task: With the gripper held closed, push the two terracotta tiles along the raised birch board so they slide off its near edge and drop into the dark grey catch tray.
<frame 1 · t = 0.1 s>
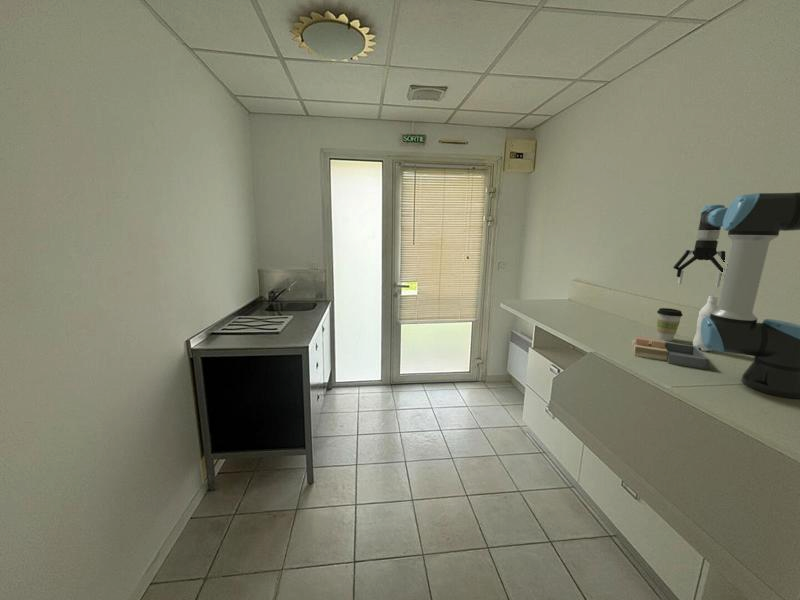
hand: (697, 285, 155), 28 cm above the worktop, fingers open, 13 cm apart
tile b: (656, 346, 142), point 4 cm above the worktop, touching board
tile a: (641, 343, 144), point 4 cm above the worktop, touching board
board: (648, 353, 144), on the worktop
coffee cup: (664, 339, 164), on the worktop
water bottle: (701, 350, 150), on the worktop
catch tray: (681, 358, 138), on the worktop
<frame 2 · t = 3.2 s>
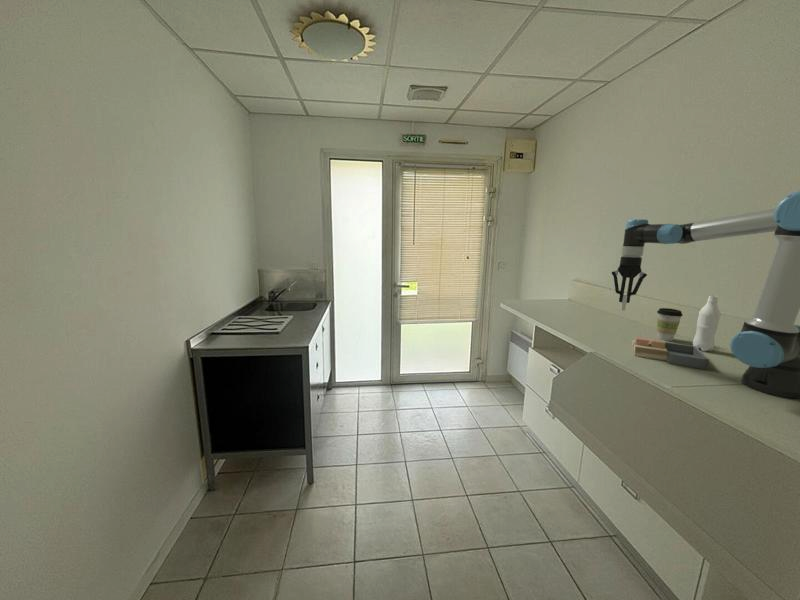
hand: (622, 309, 146), 18 cm above the worktop, fingers closed
nothing on the worktop moved.
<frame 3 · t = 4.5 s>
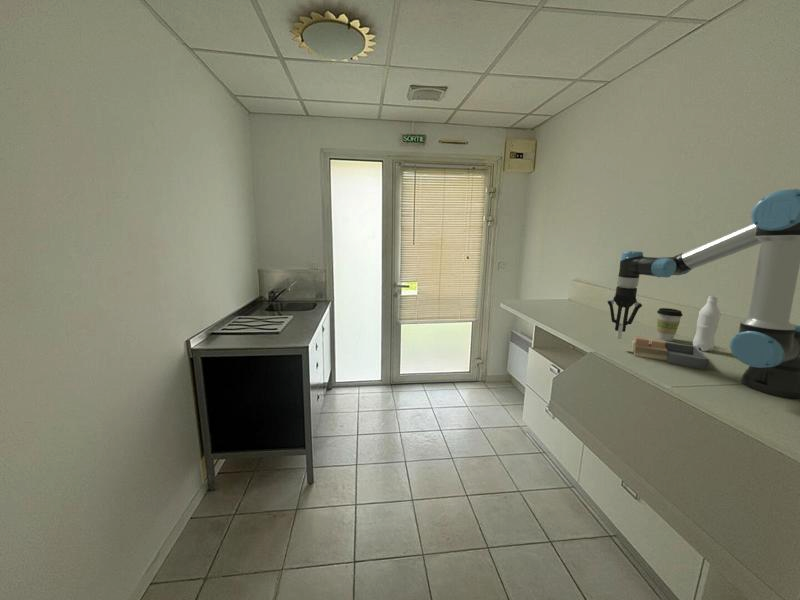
hand: (618, 337, 148), 5 cm above the worktop, fingers closed
nothing on the worktop moved.
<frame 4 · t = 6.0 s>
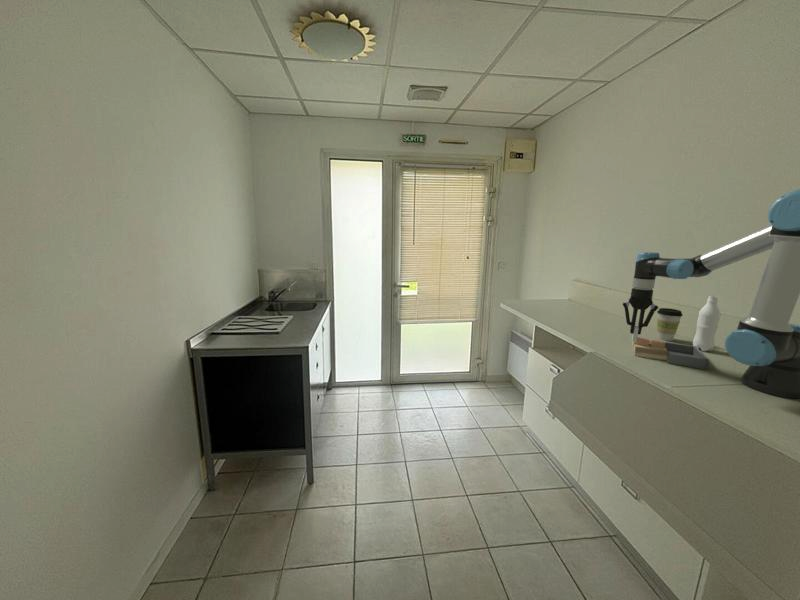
hand: (634, 340, 145), 5 cm above the worktop, fingers closed
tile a: (641, 343, 144), point 4 cm above the worktop, touching board, gripper
everything else where it was.
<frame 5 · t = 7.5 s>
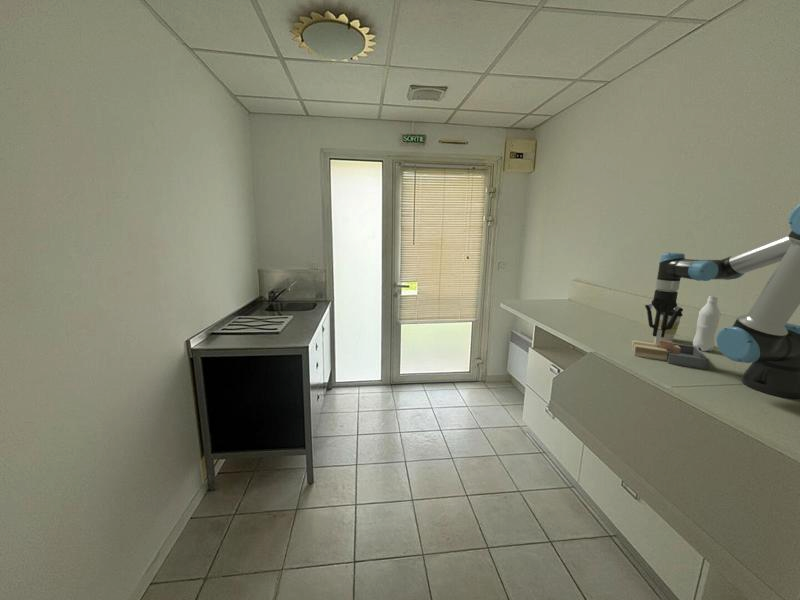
hand: (656, 343, 141), 5 cm above the worktop, fingers closed
tile b: (670, 350, 140), point 3 cm above the worktop, tilted 93°, touching catch tray
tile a: (664, 347, 140), point 4 cm above the worktop, touching gripper
everything else where it was.
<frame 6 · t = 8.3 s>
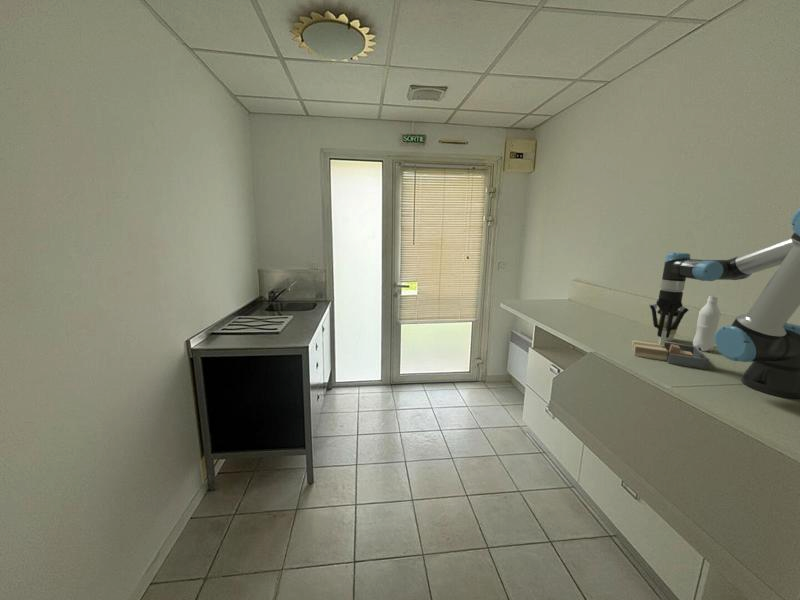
hand: (661, 344, 141), 5 cm above the worktop, fingers closed
tile b: (684, 352, 137), point 3 cm above the worktop, tilted 180°, touching catch tray
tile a: (670, 350, 140), point 3 cm above the worktop, tilted 96°, touching catch tray
everything else where it was.
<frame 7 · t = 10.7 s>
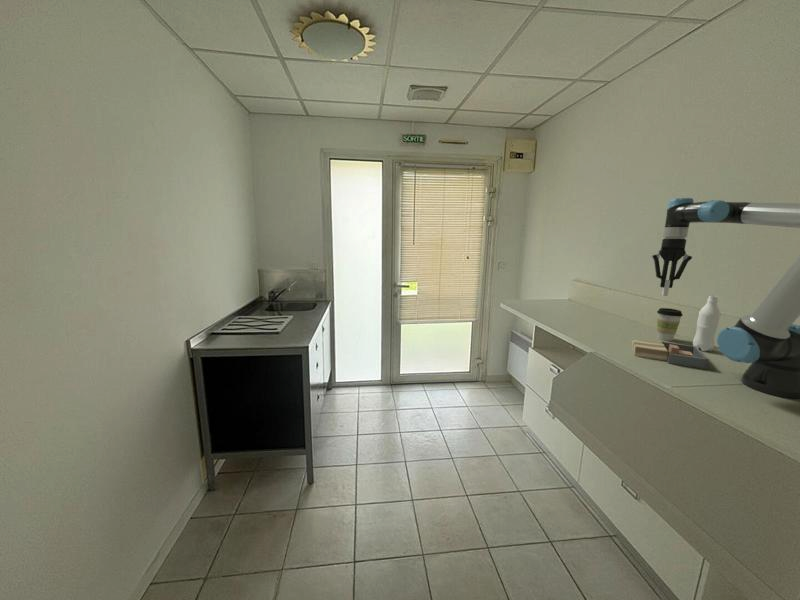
hand: (664, 295, 137), 26 cm above the worktop, fingers closed
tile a: (669, 350, 140), point 3 cm above the worktop, tilted 90°, touching catch tray
everything else where it was.
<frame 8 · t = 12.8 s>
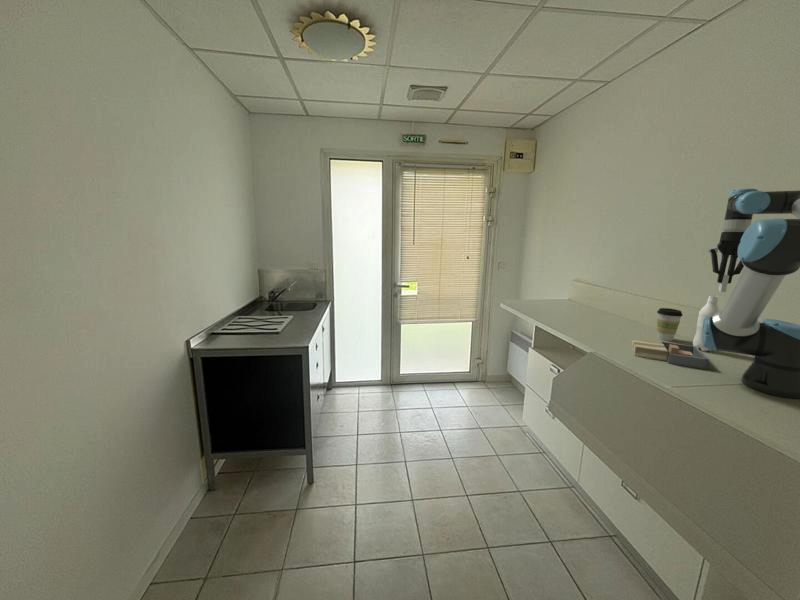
hand: (722, 291, 131), 29 cm above the worktop, fingers closed
nothing on the worktop moved.
at the end: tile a inside the target area (4.6 cm from its centre), point 2.7 cm above the worktop; tile b inside the target area (0.5 cm from its centre), point 3.0 cm above the worktop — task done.
